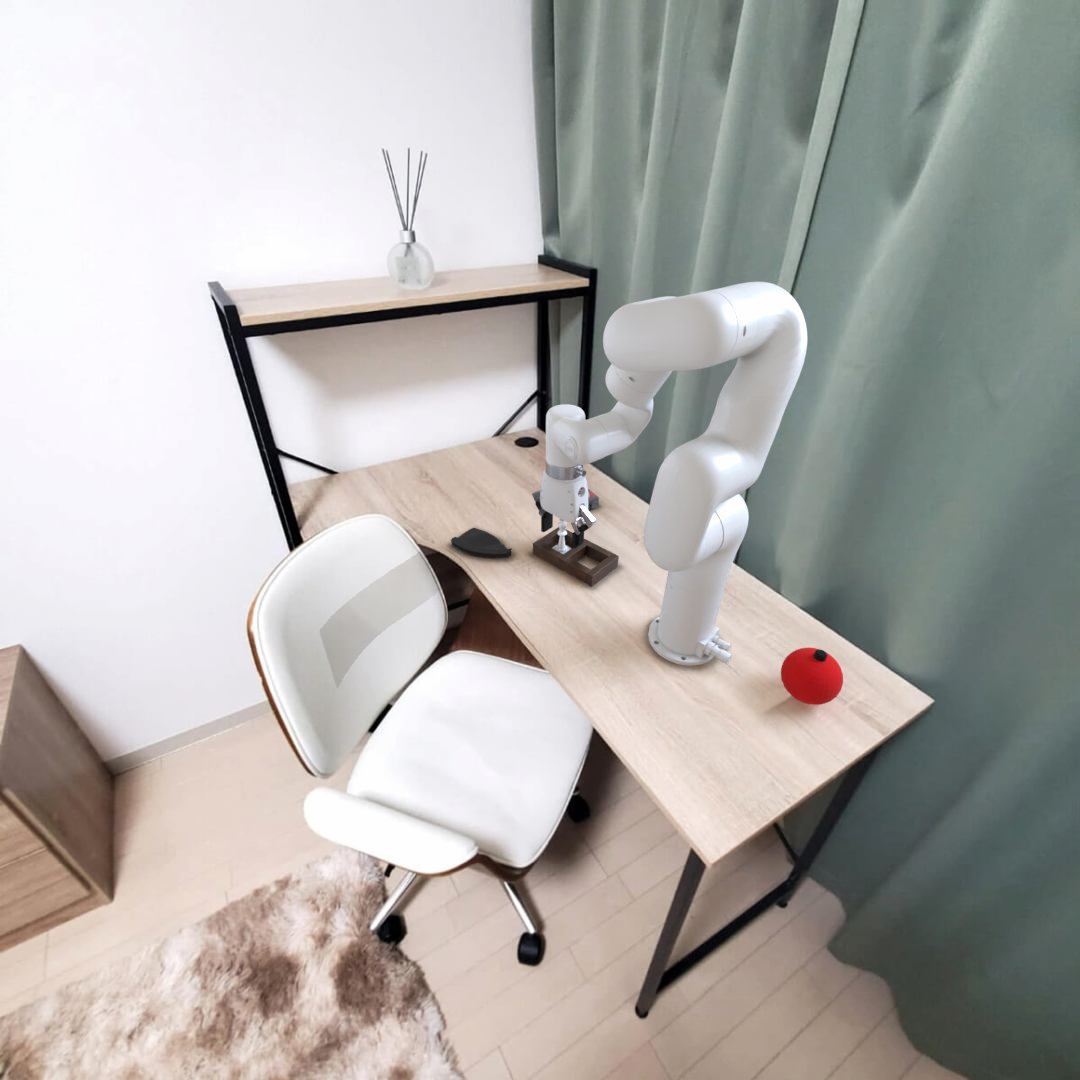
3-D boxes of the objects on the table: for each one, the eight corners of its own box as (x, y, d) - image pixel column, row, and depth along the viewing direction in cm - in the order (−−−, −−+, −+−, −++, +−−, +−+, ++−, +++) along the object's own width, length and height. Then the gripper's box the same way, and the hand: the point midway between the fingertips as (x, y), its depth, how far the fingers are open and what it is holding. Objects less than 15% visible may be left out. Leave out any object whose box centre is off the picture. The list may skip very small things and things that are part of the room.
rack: (617, 566, 116) (618, 555, 114) (591, 587, 110) (592, 576, 108) (559, 536, 125) (559, 526, 123) (532, 554, 119) (532, 543, 118)
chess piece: (577, 552, 120) (578, 515, 114) (562, 562, 117) (563, 525, 111) (560, 544, 122) (561, 507, 116) (546, 553, 119) (546, 516, 114)
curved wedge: (493, 569, 115) (493, 563, 114) (449, 546, 122) (448, 540, 121) (518, 550, 120) (517, 544, 119) (474, 529, 127) (474, 524, 126)
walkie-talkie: (545, 493, 141) (587, 531, 126) (545, 479, 138) (588, 515, 124) (573, 485, 144) (617, 521, 130) (574, 471, 141) (619, 505, 127)
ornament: (766, 696, 88) (782, 655, 82) (785, 664, 93) (801, 623, 88) (823, 726, 83) (844, 685, 77) (839, 690, 89) (860, 649, 83)
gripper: (610, 474, 104) (603, 545, 114) (544, 448, 114) (544, 515, 124) (586, 489, 100) (581, 561, 110) (520, 459, 109) (521, 529, 119)
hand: (561, 537), depth 117 cm, fingers open, 8 cm apart
